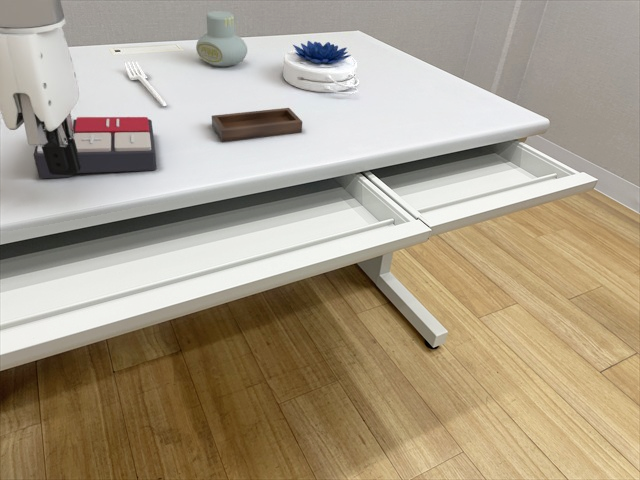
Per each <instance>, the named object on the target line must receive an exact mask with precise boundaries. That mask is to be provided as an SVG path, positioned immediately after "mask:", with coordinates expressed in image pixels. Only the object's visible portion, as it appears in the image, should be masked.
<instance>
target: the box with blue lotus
mask: <svg viewBox="0 0 640 480" xmlns="http://www.w3.org/2000/svg"><path fill="white" fill-rule="evenodd" d="M306 43H307V44H304V43H300V46H301V47H300V46H298V45H295V44H292V46H293V48H294V49H292V50H289V51H288V52H286V53H285V54H284V56H283V70H282V71H283V72H282V77H283V79H284V80H285V82H287V84H289V85H291V86H292V87H295V88H298V89H301V90H305V91H310V92H316V93H334V94H337V95H352V94H353V95H354V94H356V93H358V92H359V89H358V88H357V86H359V84H360V80H359V79H358V77H357V71H358V70H357V69H358V62H357V60H356V59H355V58H354V57H353V56H352V54H348V53H349V51H346V50H347V49H348V47H343V48H339V45H335V44H334V43H332V44H331V43H330V42H329V41H327V42H325V44H322V43H321V42H317V41H313V42H312V41H310V40H307V41H306ZM349 89H353V90H354V91H348V92H346V90H349ZM344 91H345V92H344Z"/></svg>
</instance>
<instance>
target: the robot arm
mask: <svg viewBox="0 0 640 480" xmlns="http://www.w3.org/2000/svg"><path fill="white" fill-rule="evenodd" d="M62 4H63V3H62V1H61V0H0V114H1V118H2V119H3V123H4V125H5V127H6V128H7V129H8V130H10V131H16V130H18V129H19V128H20V127H21V126H22V125H23V124H24V130H25V134H26V141H27V144H28V146H31V147H33V146H34V147H36V146H40V147H42V150H43V153H44V157H45V160H46V163H47V166H48V169H49V172H50V173H51V174H52V175H73V176H76V175H78V174H79V173H78V172H79V170H80V169H81V163H80V159H79V155H78V151H77V147H76V143H75V140H74V139H70V138H73V137H74V130H73V125H72V120H71V118H72V115H71V114H72V111H73V109H74V108H75V107H76V105H77V104H78V101H79V99H80V90H79V89H80V88H79V84H78V79H77V75H76V71H75V70H76V69H75V67H74V63H73V59H72V56H71V52H70V49H69V44H68V42H67V39H66V36H65V33H64V30H63V27H64V26H65V25H66V23H67V22H66V17H65V14H64V10H63V5H62ZM43 129H45V130H43Z"/></svg>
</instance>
